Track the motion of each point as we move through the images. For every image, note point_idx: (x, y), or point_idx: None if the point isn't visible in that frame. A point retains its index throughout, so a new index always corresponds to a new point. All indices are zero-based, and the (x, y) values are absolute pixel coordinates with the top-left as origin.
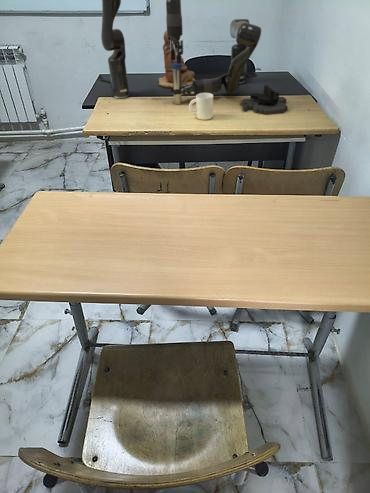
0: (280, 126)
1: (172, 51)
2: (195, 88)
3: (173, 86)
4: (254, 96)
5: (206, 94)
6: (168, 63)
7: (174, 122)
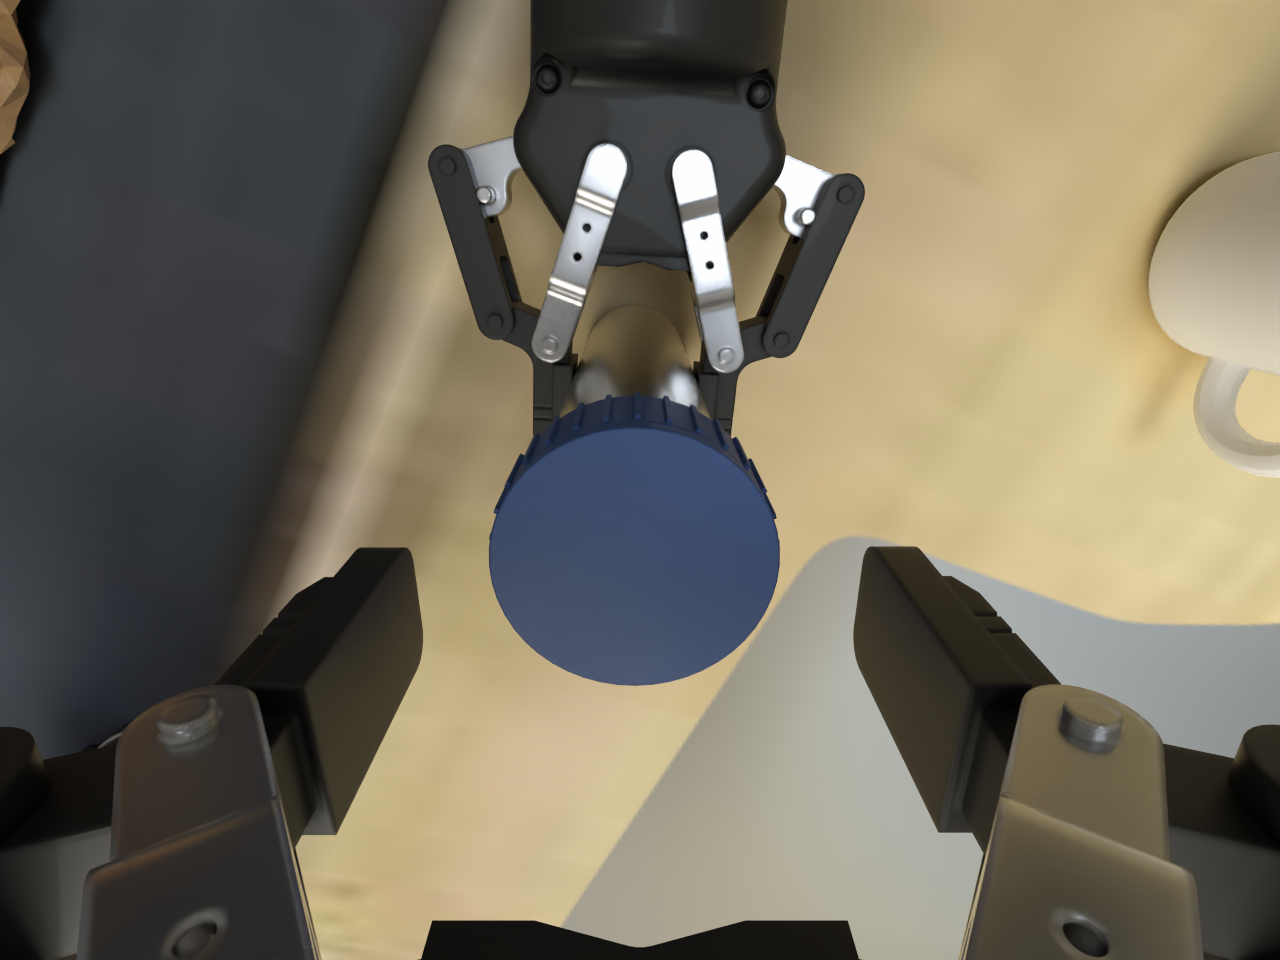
0: None
1: (290, 801)
2: (770, 107)
3: None
4: None
5: None
6: None
7: (1125, 582)
